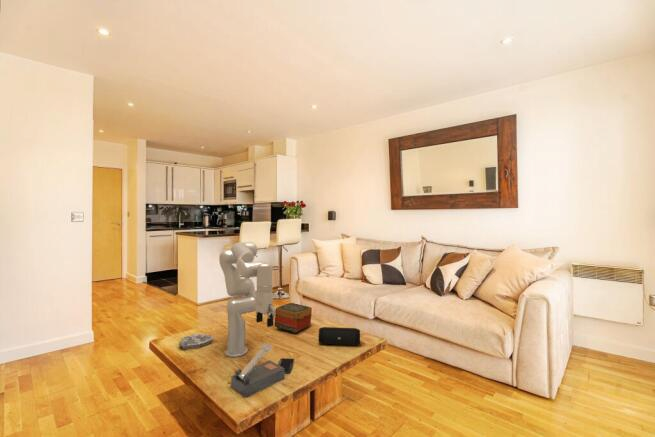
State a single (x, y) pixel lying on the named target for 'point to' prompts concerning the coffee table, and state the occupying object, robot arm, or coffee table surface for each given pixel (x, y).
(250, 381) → the base block
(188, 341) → the brain slice
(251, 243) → the robot arm
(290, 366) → the phone
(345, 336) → the portable speaker
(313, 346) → the coffee table surface
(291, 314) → the decorative box
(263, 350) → the latch bar
